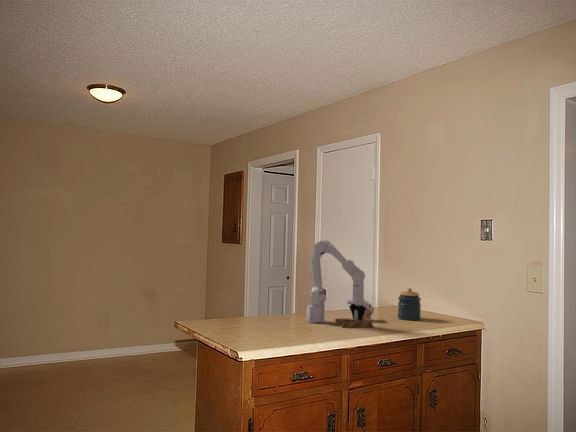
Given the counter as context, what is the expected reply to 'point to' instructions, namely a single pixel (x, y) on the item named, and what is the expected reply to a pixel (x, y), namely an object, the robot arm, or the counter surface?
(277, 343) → the counter surface
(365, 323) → the groove board
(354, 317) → the peg
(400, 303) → the canister
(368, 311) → the teacup with lid
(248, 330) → the counter surface
